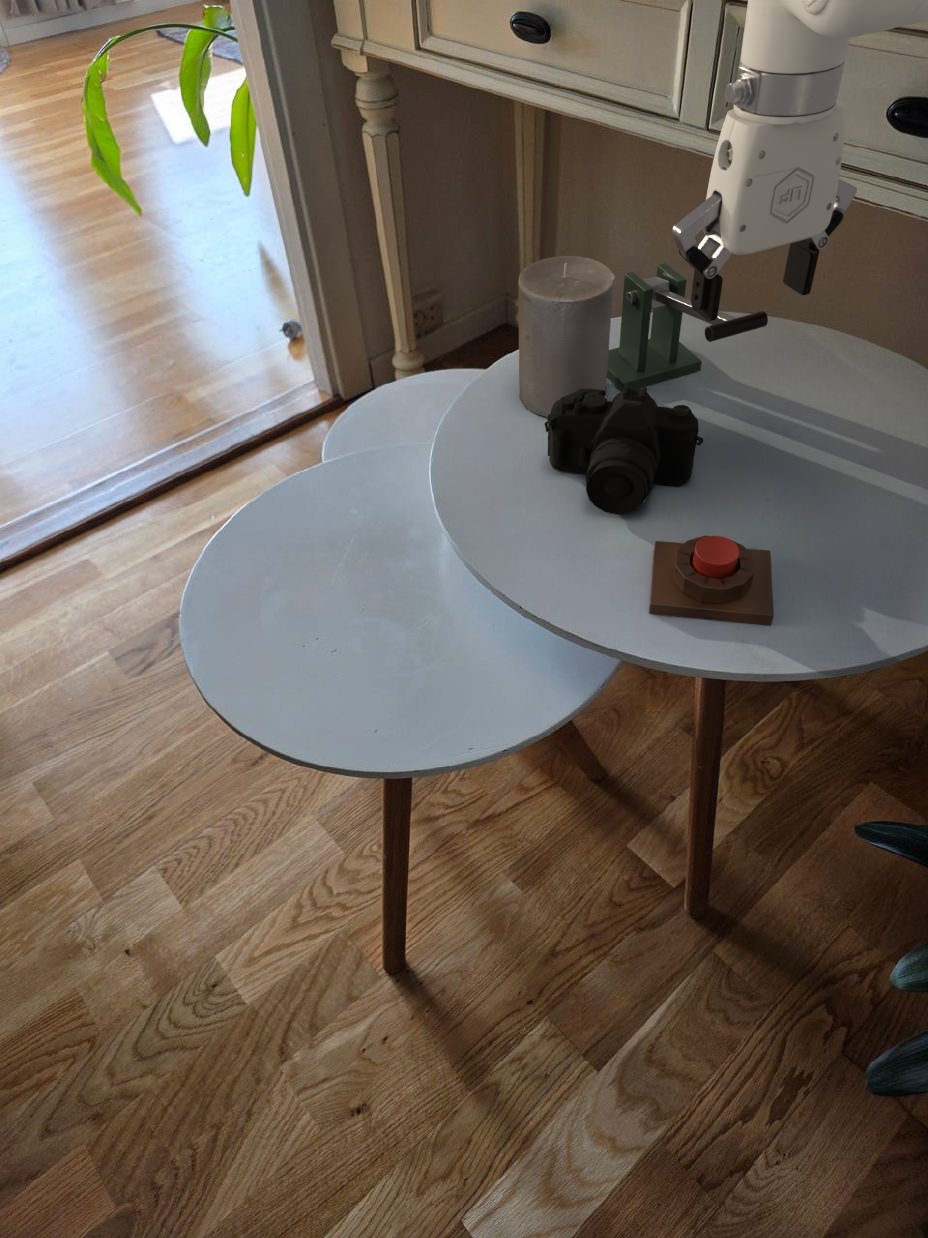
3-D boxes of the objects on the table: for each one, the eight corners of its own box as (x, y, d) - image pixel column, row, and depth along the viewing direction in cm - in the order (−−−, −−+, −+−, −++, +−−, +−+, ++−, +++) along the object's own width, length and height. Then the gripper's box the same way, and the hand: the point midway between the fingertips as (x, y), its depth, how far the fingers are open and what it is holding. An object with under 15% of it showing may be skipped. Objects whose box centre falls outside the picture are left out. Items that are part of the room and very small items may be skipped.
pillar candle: (515, 375, 101) (512, 247, 90) (599, 367, 101) (606, 238, 90) (524, 423, 94) (522, 291, 83) (613, 415, 94) (623, 282, 83)
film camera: (530, 505, 85) (529, 428, 78) (552, 447, 91) (553, 371, 84) (688, 528, 81) (701, 449, 75) (700, 466, 87) (713, 388, 81)
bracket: (700, 370, 99) (714, 278, 91) (622, 392, 97) (629, 301, 89) (668, 342, 104) (679, 252, 96) (593, 363, 101) (597, 273, 94)
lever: (767, 333, 83) (769, 307, 81) (712, 348, 81) (713, 323, 80) (671, 294, 96) (671, 271, 95) (623, 307, 95) (622, 284, 93)
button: (735, 552, 75) (739, 537, 74) (736, 581, 73) (739, 566, 71) (692, 548, 76) (695, 533, 74) (691, 577, 73) (694, 562, 72)
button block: (767, 560, 78) (774, 534, 75) (770, 625, 72) (778, 600, 70) (654, 550, 79) (657, 525, 77) (648, 613, 74) (652, 588, 72)
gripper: (716, 123, 62) (689, 343, 74) (915, 78, 66) (857, 295, 78) (662, 96, 67) (645, 307, 79) (849, 56, 71) (805, 264, 83)
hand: (750, 301), depth 79 cm, fingers open, 9 cm apart
